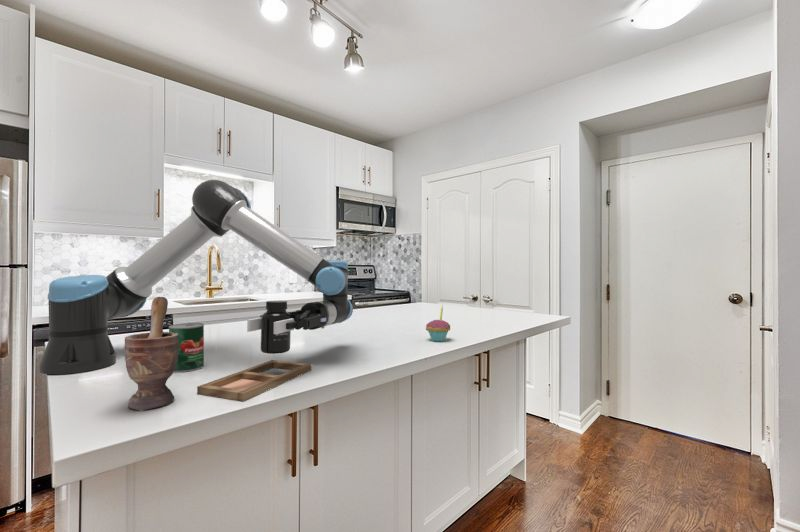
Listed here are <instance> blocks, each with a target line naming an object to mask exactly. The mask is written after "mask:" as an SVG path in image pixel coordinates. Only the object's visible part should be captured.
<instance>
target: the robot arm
mask: <svg viewBox="0 0 800 532" xmlns="http://www.w3.org/2000/svg"><path fill="white" fill-rule="evenodd" d="M191 200H192V202H191V203H192V205H193V206H192V207H190V208H191V209H190V210H191V211H190V215H189V216H188V217H187V218H186V219H184V220H183V221H181V223H179V224H178V225H177V226H176V227H174V228H173V229H172V230H171V231H169V233H167V234H166V235H165V236H164V237H162V238H161V239H160V240H158V241H157V242H156V243H154V244H153V246H151V247H149V249H148V250H146V251H145V252H144V253H143V254H141V255H140V256H139V257H138V258H136V259H135V260H134V261H133V262H131V263H130V264H129V265H127V266H118V267H116V268H115V269H114V270H113V271H112V272H110V273H108V275H107V276H105V275H101V274H84V275H83V274H82V275H75V276H73V275H72V276H65V277H61V278H60V277H59V278H56V279H54V280H52V281H51V282H50V284H49V286H48V294H47V299H48V342H47V344H46V347H45V348H44V349H45V350H44V351H43V354H42V356H41V359H40V360H39V361H40V362H39V373H41V374H44V375H67V374H68V375H69V374H76V373H77V374H78V373H83V372H84V373H85V372H91V371H94V370H99V369H103V368H106V367H109V366H112V365H114V364H116V362H117V354H116V350H115V348H114V346H113V344H112V342H111V339H110V337H109V334H108V332H109V331H108V324H109V323H108V322H109V321H110V320H115V319H117V318H118V319H119V318H120V319H121V318H126V317H128V316H131V315H134V314H135V313H137V312H139V311H140V310H141V309H143V307H144V306H145V304H146V302H147V300H148V298H149V297H151V295H152V294H153V287H154V286H155V285H157V284H158V283H159V282H160V281H162V279H164V278H165V277H167V275H169V274H170V273H171V272H172V271H173V270H175V269H176V268H177V267H179V265H181V264H182V263H183V262H184V261H185V260H187V259H188V258H189V257H190V256H192V255H193V254H194V253H195V252H196V251H198V250H199V249H200V248H202V247H203V246H204V245H205V244H206V243H207V242H208V241H210V240H211V239H213V238H214V237H215V238H216V237H220V238H221V237H223V236H224V235H226V234H227V232H229V231H230V230H231V231H232V232H234V233H235V234H236V235H237V236H239V237H241V238H242V239H244V240H246V241H247V242H248V243H250V244H251V245H253V246H255V247H256V248H258V249H259V250H261V251H262V252H263V253H265V254H267V255H268V256H269V257H271V258H272V259H274V260H276V261H277V262H278V263H280V264H282V265H283V266H285V267H286V268H287V269H289V270H291V271H292V272H293V273H295V274H297V275H298V276H300V277H301V278H303V279H304V280H306V281H307V282H309V283H310V284H311V285H313V286H314V287H316V288H317V289H318V291H319V292H320V293H322V300H318V301H313V302H307V303H305V304H304V305H303V306H302V307H301V308H300V309H298V310H294V311H287V310H286V312H288V313H289V314H290V315H291V319H286V320H281V321H277V322H274V334H280V333H283V332H287V331H294V330H297V331H299V330H301V329H302V330H304V331H307V330H311V331H313V330H317V329H325V328H326V327H328V326H331V325H334V324H340V323H343V322H345V321H347V320H349V319H350V318H351V317H352V315H353V313H354V306H353V304H352V302H351V300H350V299H349V298H348V288H349V287H348V284H349V283H348V282H349V280H348V279H349V277H348V276H349V265H348V264H349V263H348V262H347V261H346V260H338V259H337V260H332V259H331V260H328V259H327V260H326V259H325V258H323V257H322V256H321V255H319V254H317V253H316V252H314V251H313V250H312V249H310V248H309V247H307V246H306V245H304V244H303V243H301V242H300V241H298V240H297V239H295V238H294V237H292V236H290V234H289V233H286V232H285V231H284V230H282V229H280V227H278V226H276V225H275V224H273V223H271V222H270V221H269V220H267V219H266V218H265V217H263V216H261V215H260V214H258V212H256V211H254V210H253V209H252V205H251V202H250V200H249V199H248V197H247V196H246V195H245V194H244V193H243V191H241V190H240V189H238V188H237V187H234V186H232V185H230V184H229V183H227V182H225V181H223V180H221V179H219V180H218V179H208V180H205V181H202V182H200V184H198V185H197V186H196V187H195V188H194V190H193V194H192V197H191ZM262 315H263V314H261V315H259V317H256V318H250V319H247V322H246V323H247V324H246V325H247V327H246V328H247V330H246V331H247V332H254V331H261V317H262Z"/></svg>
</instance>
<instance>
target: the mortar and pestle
mask: <svg viewBox="0 0 800 532" xmlns="http://www.w3.org/2000/svg"><path fill="white" fill-rule="evenodd" d="M168 305H169V302H168V299H167V297H164V296H156V297H154V298H153V299H152V301H151V306H150V307H151V308H150V329H149V332H143V333H136V334H131V335H128V336H127V335H126V336H125V337H124V351H125V352H124V360H125V361H124V362H125V369H126V371H127V375H128V377H129V378H130V380H131V381H133V382H134V383H135V384H136V385H137V391H136V392H135V393H134V394H132V395H131V397H130V398H129V400H128V408H129V409H132V410H135V411H140V412H143V411H147V410H151V409H155V408H159V407H163V406H166V405H169V404H171V403H173V402H174V401H175V395H174V394H173V392H172V391H171V389H170V388H169V387H168V386H167V385H166V384H167V382H168V379H170V377H172V376H173V374H174V373H175V372H174V370H175V366H176V363H177V358H178V337H179V336H178V334H177V333H172V332H169V331H163V330H164V329H163V327H164V323H165V318H166V315H167V312H168V311H167V310H168Z"/></svg>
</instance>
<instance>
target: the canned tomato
mask: <svg viewBox="0 0 800 532" xmlns="http://www.w3.org/2000/svg"><path fill="white" fill-rule="evenodd" d="M204 325H205V324H204V323H202V322H185V323H184V322H183V323H176V324H171V325H169V326H168V332H172V333H177V334H178V336H179V337H178V358H177V363H176V366H175V370H174V372H173V373H188V372H193V371H194V372H195V371H197V370H200V369H203V368H204V367H205V362H204V361H205V354H204V353H205V352H204V351H205V345H204V344H205V337H204V334H205V330H204V329H205V326H204Z"/></svg>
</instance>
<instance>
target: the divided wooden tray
mask: <svg viewBox="0 0 800 532" xmlns="http://www.w3.org/2000/svg"><path fill="white" fill-rule="evenodd" d="M273 368H274V369H279V368H280V370H281V369H282V370H288V371H286V372H283V373H281V374H279V375H277V374H269V373H263V372H266V371H269V370H271V369H273ZM265 370H266V371H265ZM310 370H311V371H312V364H311V363H303V362H302V363H301V362H294V361H292V362H291V361H285V360H276V359H274V360H273V359H271V360H268V361H266V362H263V363H260V364H256V365H254V366H252V367H249V368H246V369H243V370H240V371H237V372H234V373H231V374H229V375H226V376H223V377H221V378H218V379H215V380H213V381H208V382H207V383H203V384H201V385H197V387H196V388H197V390H196V393H197V395H202V396H209V397H214V398H221V399H227V400H232V399H233V401H238V402H245V401H247V400H249V399H253V398H254V397H256V396H259V395H260V393H261V394H262V392H263V393H265V392H267V391H269V390H271V389H270V388H272V389H273V387H274V388H276V387H278V386H280V385H282V384H284V382H285V383H287V382H289V381H291V380H293V379H295V377H296V378H298V377H300V376H302V375H304V374H306V373H308V371H309V372H311V371H310ZM260 372H261V373H260ZM301 374H302V375H301ZM299 375H300V376H299ZM297 376H298V377H297ZM288 380H289V381H288ZM286 381H287V382H286ZM277 385H278V386H277ZM275 386H276V387H275ZM268 389H269V390H268ZM266 390H267V391H266ZM264 391H265V392H264Z"/></svg>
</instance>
